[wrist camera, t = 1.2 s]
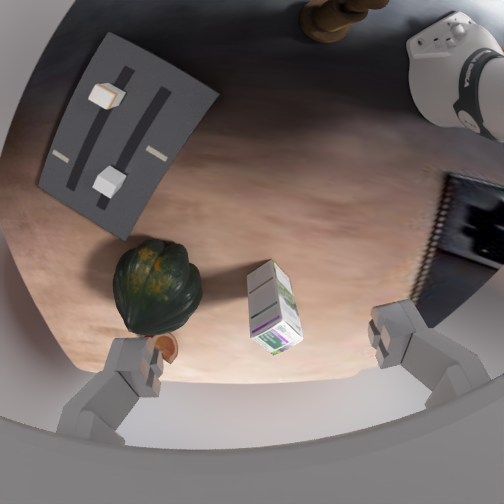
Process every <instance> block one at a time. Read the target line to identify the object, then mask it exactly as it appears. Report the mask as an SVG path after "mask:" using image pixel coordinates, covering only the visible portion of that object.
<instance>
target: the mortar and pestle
mask: <svg viewBox="0 0 504 504" xmlns="http://www.w3.org/2000/svg"><path fill="white" fill-rule="evenodd" d="M388 2H389V0H312V1H310V2H308V3H307V4H306V5H305V6H304V7H303V8H302V9H301V11H300V14H299V24H300V27H301V29H302V30H303V32H304V33H305V34H306V35H307V36H308V37H310V38H311V39H313V40H315V41H318V42H321V43H332V42H335V41H338V40H340V39H342V38H344V37H345V36H346V35H347V33H348V32H349V29H350V24H353V23H356V22H359V21H361V20H363V19H364V18H365V17H366V16H367V14H368V9H375V10H376V9H381V8H383V7H385V6H386V5H387V4H388Z"/></svg>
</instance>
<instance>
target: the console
mask: <svg viewBox="0 0 504 504" xmlns="http://www.w3.org/2000/svg"><path fill="white" fill-rule="evenodd" d="M104 83H110V84H111V85H113V86H115V87H117V88H119V89H120V90H122V91H124V92H126V93H125V95H124V97H123V99H122V100H121V102H120V104H119V106H116V107H112V108H110V109H104V108H103V107H101V106H99V105H97V104H96V103H94V102H92V101H90V100H89V99H88V98H89V96H90V94H91V92H92V90H93V88H94V86H95V85H96V84H104ZM220 94H221V93H220V92H218V91H217V90H215V89H214V88H212V87H210V86H209V85H207V84H206V83H204V82H203V81H201V80H199V79H198V78H196V77H195V76H193V75H191V74H190V73H188V72H186V71H185V70H183V69H181V68H180V67H178V66H176V65H174V64H173V63H171V62H169V61H167V60H166V59H164V58H162V57H160V56H159V55H157V54H155V53H153V52H151V51H149V50H148V49H146V48H144V47H142V46H140V45H138V44H136V43H134V42H132V41H130V40H128V39H126V38H124V37H122V36H120V35H118V34H115V33H112V32H108V33H107V35H106V36H105V38H104V39H103V41H102V43H101V44H100V46H99V48H98V49H97V51H96V53H95V54H94V56H93V58H92V59H91V61H90V63H89V65H88V67H87V68H86V70H85V72H84V74H83V76H82V78H81V80H80V82H79V83H78V85H77V87H76V89H75V91H74V94H73V96H72V98H71V100H70V102H69V104H68V106H67V108H66V111H65V113H64V115H63V118H62V120H61V122H60V125H59V127H58V130H57V132H56V135H55V137H54V140H53V142H52V145H51V148H50V151H49V153H48V156H47V159H46V162H45V165H44V168H43V171H42V174H41V178H40V181H39V184H38V187H40V188H41V189H43V190H44V191H46V192H47V193H49V194H50V195H52V196H54V197H55V198H57V199H58V200H60V201H61V202H63V203H64V204H66V205H67V206H69V207H71V208H72V209H74V210H75V211H77V212H79V213H80V214H82V215H83V216H85V217H86V218H88V219H90V220H91V221H93V222H95V223H96V224H98V225H99V226H101V227H103V228H104V229H106V230H108V231H109V232H111V233H113V234H114V235H116V236H118V237H119V238H121V239H123V240H124V241H126V240H127V238H128V236H129V235H130V233H131V231H132V229H133V227H134V226H135V224H136V222H137V220H138V218H139V217H140V215H141V213H142V211H143V210H144V208H145V206H146V204H147V203H148V201H149V199H150V198H151V196H152V194H153V193H154V191H155V189H156V188H157V186H158V184H159V183H160V181H161V179H162V178H163V176H164V175H165V173H166V171H167V170H168V168H169V167H170V165H171V164H172V162H173V161H174V159H175V157H176V156H177V154H178V153H179V151H180V150H181V148H182V147H183V145H184V144H185V142H186V141H187V139H188V138H189V137H190V135H191V134H192V132H193V131H194V129H195V128H196V127H197V125H198V124H199V122H200V121H201V119H202V118H203V117H204V115H205V114H206V113H207V111H208V110H209V109H210V107H211V106H212V104H213V103H214V102H215V100H216V99H217V98H218V97H219V95H220ZM108 166H111V167H113V168H114V169H116V170H118V171H119V172H121V173H123V174H124V175H126V178H125V180H124V182H123V184H122V186H121V188H120V189H119V190H118V191H117V192H116V193H115V194H114V195H113V196H112V197H111V199H110V198H109V197H107V196H105V195H104V194H102V193H100V192H99V191H97V190H96V189H94V188H92V187H93V185H94V183H95V180H96V178H97V176H98V175H99V174H100V173H101V172H102V171H103V170H105V169H106V168H107V167H108Z"/></svg>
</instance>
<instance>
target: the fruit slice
mask: <svg viewBox="0 0 504 504" xmlns="http://www.w3.org/2000/svg"><path fill="white" fill-rule="evenodd" d="M145 337H151V338H152V339H153V341H154V342H155V345H154V348H156V349H157V350H159V351H160V353H161V355H162V358H163V359H164V360H165V361H167V362H168V363H170V364H171V363H172V362H173V360H175V358H176V357H177V354H178V345H177V341H176V339H175V337H174V336H173V335H172V334H171V333H166V334H161V335H146V336H145Z"/></svg>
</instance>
